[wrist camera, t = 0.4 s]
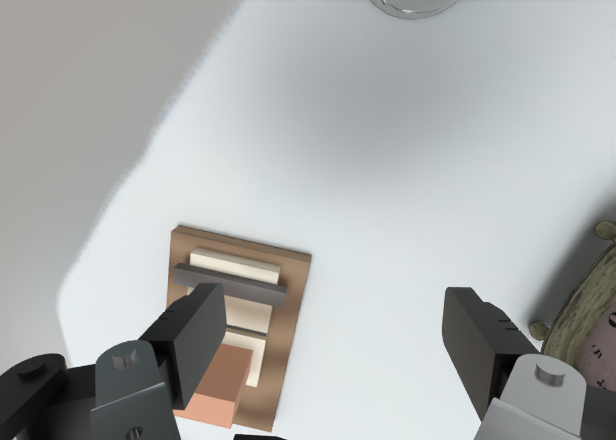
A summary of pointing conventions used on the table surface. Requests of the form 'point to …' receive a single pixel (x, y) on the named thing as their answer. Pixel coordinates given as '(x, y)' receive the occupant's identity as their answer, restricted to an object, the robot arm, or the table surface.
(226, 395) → the stub
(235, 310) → the stand
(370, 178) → the table surface
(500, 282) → the table surface
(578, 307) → the tabletop clock
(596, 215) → the table surface
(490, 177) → the table surface
